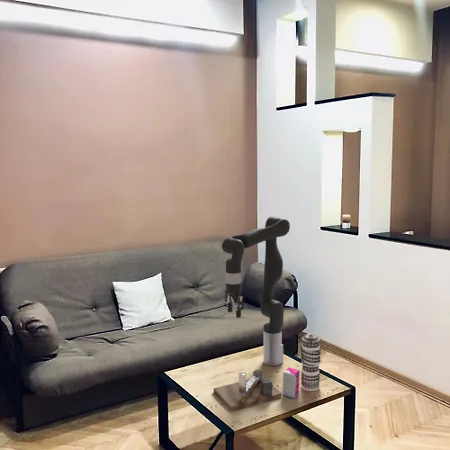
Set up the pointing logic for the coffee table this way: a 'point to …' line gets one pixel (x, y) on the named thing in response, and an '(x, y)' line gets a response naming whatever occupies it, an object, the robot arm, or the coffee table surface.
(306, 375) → the white patterned cylinder
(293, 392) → the supplement box
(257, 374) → the lever
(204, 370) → the coffee table surface
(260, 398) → the brown board
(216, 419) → the coffee table surface
